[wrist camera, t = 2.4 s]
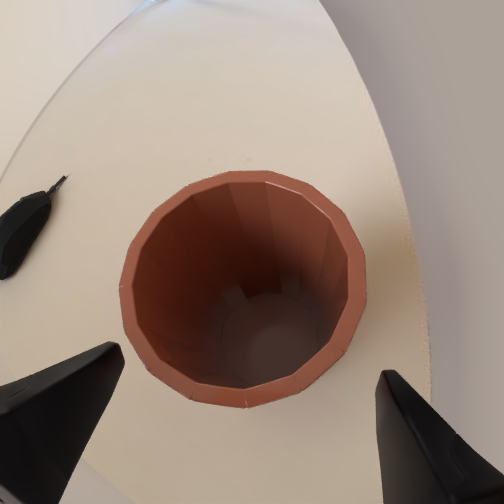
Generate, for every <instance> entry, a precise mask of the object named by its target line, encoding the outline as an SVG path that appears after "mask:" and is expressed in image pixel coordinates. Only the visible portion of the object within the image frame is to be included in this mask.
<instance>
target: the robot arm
mask: <svg viewBox="0 0 504 504" xmlns="http://www.w3.org/2000/svg"><path fill="white" fill-rule="evenodd" d="M124 365H125V360H124V357H123V354H122V351H121V348H120V345H119V344H118V343H115V342H111V341H108V342H106V343H103V344H101V345H99V346H97V347H94V348H92V349H90V350H88V351H85V352H83V353H81V354H79V355H76V356H74V357H72V358H69V359H67V360H65V361H62V362H60V363H58V364H55V365H53V366H51V367H48V368H46V369H44V370H41V371H39V372H37V373H34V374H32V375H29V376H27V377H25V378H22V379H20V380H17V381H14V382H12V383H9V384H6V385H3V386H0V504H59V501H60V499H61V497H62V495H63V493H64V490H65V488H66V486H67V484H68V481H69V480H70V477H71V475H72V473H73V471H74V469H75V467H76V465H77V463H78V461H79V459H80V457H81V455H82V453H83V451H84V449H85V447H86V445H87V443H88V441H89V439H90V437H91V435H92V433H93V431H94V429H95V427H96V426H97V424H98V422H99V420H100V418H101V416H102V414H103V412H104V410H105V409H106V407H107V405H108V403H109V401H110V399H111V397H112V395H113V392H114V390H115V387H116V385H117V382H118V380H119V378H120V375H121V373H122V370H123V368H124ZM375 398H376V434H377V443H378V451H379V459H380V469H381V479H382V490H383V503H384V504H504V475H503V474H502V473H501V472H500V471H498V470H497V469H496V468H494V467H493V466H492V465H491V464H490V463H489V462H487V461H486V460H485V459H484V458H483V457H481V456H480V455H479V454H478V453H477V452H476V451H474V450H473V449H472V448H471V447H470V446H469V445H468V444H467V443H466V442H465V441H464V440H463V439H462V438H461V437H460V436H459V435H458V434H456V432H455V431H454V430H453V429H452V428H451V426H450V425H448V423H447V422H446V421H445V420H443V418H442V417H441V416H440V415H439V414H438V413H437V412H436V411H435V410H434V409H433V408H432V407H431V406H430V405H429V404H428V403H427V402H426V401H425V400H424V399H423V398H422V397H421V396H420V395H419V394H418V393H417V392H416V391H415V390H414V389H413V388H412V387H411V386H410V385H409V384H408V383H407V382H406V381H405V380H404V379H403V378H402V377H401V376H400V375H399V374H398V373H397V372H396V371H395V370H383V371H382V372H381V375H380V378H379V381H378V384H377V387H376V392H375Z"/></svg>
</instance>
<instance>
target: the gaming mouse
mask: <svg viewBox="0 0 504 504" xmlns="http://www.w3.org/2000/svg"><path fill="white" fill-rule="evenodd" d="M65 178H66V177H65V176H63V177H62V178H61V179H60V180H59V181H58V182H57V183H56V184H55V185H54V186H52V187H51V188H50V189H49V191H48V192H47V193H46V192H45V191H40V192H36V193H33V194H30V195H28V196H25V197H22V198H21V199H20V201H18V202H16V203H15V204H14V205H13V206H11V207H10V208H9V209H8V210H7V211H6V212H5V213H4V214H3V215H2V216H1V217H0V280H4V279H6V278H8V277H9V276H10V275H11V274H12V273H13V271H14V270H15V269H16V268H17V267H18V266H19V264H20V262H21V261H22V259H23V257H24V255H25V254H26V252H27V250H28V248H29V247H30V245H31V243H32V242H33V240H34V238H35V237H36V235H37V234H38V232H39V231H40V229H41V227H42V226H43V224H44V223H45V221H46V219H47V217H48V214H49V211H50V208H51V203H50V197H49V196H50V195H51V193H53V192H54V191H55V190H56V187H57V186H58V185H59V184H60V183H61V182H62V181H63V180H64V179H65Z"/></svg>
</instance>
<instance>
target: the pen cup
mask: <svg viewBox="0 0 504 504" xmlns="http://www.w3.org/2000/svg"><path fill="white" fill-rule="evenodd" d="M119 297H120V305H121V313H122V320H123V327H124V331H125V334H126V336H127V338H128V339H129V341H130V343H131V344H132V346H133V348H134V349H135V351H136V353H137V354H138V356H139V358H140V359H141V361H142V363H143V364H144V366H145V367H146V369H147V370H148V371H149V372H150V373H151V374H152V375H153V376H155V377H156V378H158V379H159V380H160V381H162V382H163V383H165V384H166V385H168V386H169V387H171V388H172V389H174V390H175V391H177V392H178V393H180V394H181V395H183V396H185V397H186V398H188V399H189V400H193V401H195V402H201V403H207V404H213V405H220V406H227V407H235V408H243V409H244V408H252V407H255V406H259V405H262V404H266V403H269V402H273V401H276V400H279V399H282V398H286V397H289V396H292V395H295V394H298V393H300V392H301V391H304V390H305V389H306V388H308V387H309V386H310V385H311V384H312V383H313V382H315V381H316V380H317V379H318V378H319V377H320V376H321V375H323V374H324V373H325V372H326V371H327V370H328V369H329V368H330V367H331V366H332V365H334V364H335V363H336V362H337V361H338V360H339V359H340V358H341V357H342V356H343V355H344V353H345V352H346V351H347V349H348V347H349V345H350V342H351V340H352V338H353V335H354V333H355V331H356V328H357V326H358V324H359V321H360V319H361V316H362V314H363V311H364V309H365V306H366V301H367V292H366V267H365V255H364V251H363V249H362V247H361V245H360V243H359V241H358V239H357V237H356V235H355V233H354V231H353V229H352V227H351V225H350V223H349V221H348V219H347V217H346V215H345V214H344V213H343V211H342V210H341V209H340V208H338V207H337V206H336V205H335V204H334V203H332V202H331V201H330V200H329V199H328V198H326V197H325V196H324V195H323V194H322V193H320V192H319V191H318V190H317V189H315V188H314V187H313V186H312V185H309V184H308V183H305V182H303V181H300V180H297V179H294V178H291V177H288V176H285V175H282V174H279V173H276V172H272V171H228V172H223V173H220V174H217V175H214V176H211V177H208V178H206V179H203V180H200V181H197V182H194V183H191V184H189V185H188V186H185V187H184V188H182V189H181V190H180V191H178V192H177V193H176V194H174V195H173V196H172V197H170V198H169V199H168V200H166V201H165V202H164V203H162V204H161V205H160V206H158V207H157V208H156V209H155V210H154V211H153V212H152V213H151V214H150V216H149V217H148V219H147V220H146V222H145V223H144V225H143V226H142V227H141V229H140V230H139V232H138V233H137V235H136V236H135V238H134V239H133V241H132V242H131V244H130V246H129V248H128V252H127V256H126V259H125V263H124V267H123V271H122V275H121V279H120V283H119Z"/></svg>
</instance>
